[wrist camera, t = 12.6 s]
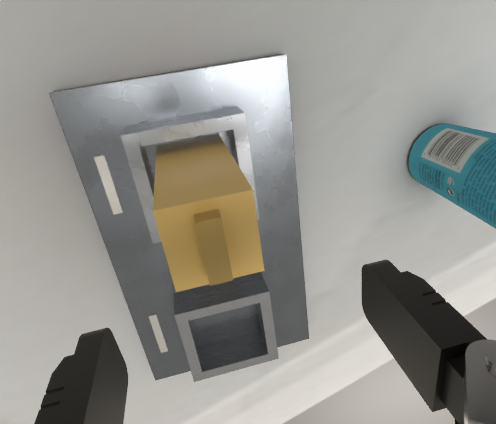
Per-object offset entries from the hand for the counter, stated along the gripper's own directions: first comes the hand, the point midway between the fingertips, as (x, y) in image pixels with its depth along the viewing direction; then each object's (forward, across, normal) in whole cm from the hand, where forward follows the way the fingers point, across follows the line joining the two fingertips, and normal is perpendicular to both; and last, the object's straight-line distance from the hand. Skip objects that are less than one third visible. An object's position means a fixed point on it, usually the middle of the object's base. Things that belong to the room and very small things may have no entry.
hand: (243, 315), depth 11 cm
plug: (+14, +1, 0) cm, 14 cm away
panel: (+15, +1, +6) cm, 16 cm away
